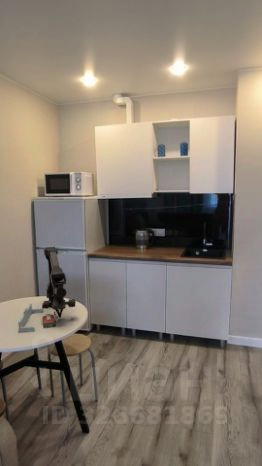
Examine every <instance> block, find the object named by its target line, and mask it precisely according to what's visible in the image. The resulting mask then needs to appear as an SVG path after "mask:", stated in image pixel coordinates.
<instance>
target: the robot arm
mask: <svg viewBox="0 0 262 466" xmlns="http://www.w3.org/2000/svg"><path fill="white" fill-rule="evenodd" d="M42 251H43V255H44V258H45V259H46V260H47V270H48V271H47V272H48V283H47V285H46V289H45V297H46V299H48V300H44V301H43V302H42V306H41V307H42V308H43V310H44V309H49V308H52V310H54V311H55V312H56V315H57V316H58V318H59V319H61V318H62V314H63V310H65V309H66V307H67V306H68V308H76V303H77V301H76V299H75V298H73V299H68V301H66V300H65V297H66V296H67V292H68V291H67V290H66V288H65V286H64V285H66V284H67V277H66V276H67V275H66V274H65V272H64V271H63V268H62V267H60V264H59V260H58V259H59V258H58V254H59V250H58V247H57V248H56V247H55V246H48V247H47V246H46V247H44V249H43V250H42Z"/></svg>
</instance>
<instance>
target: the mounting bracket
mask: <svg viewBox="0 0 262 466" xmlns="http://www.w3.org/2000/svg"><path fill="white" fill-rule="evenodd" d="M32 314H44V309H43V308H33V304H32V303H28V306H27V307H26V308H25V309H24V311H23V314H22V315H21V316H20V319H18V320H19V321H17V323H18V333H29V332H30V333H31V332H35V326H34V325H32V326H30V325H29V326H26V325H27V323H28V322H29V319H30V318H31V316H32Z"/></svg>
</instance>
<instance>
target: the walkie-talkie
mask: <svg viewBox="0 0 262 466" xmlns="http://www.w3.org/2000/svg"><path fill="white" fill-rule="evenodd" d="M58 318H59V316H58V314H57V312H56V310H54V311H53V314H51V313H47V314H45V315H43V316H42V319H41V320H42V325H43V329H48V328H54V327H56V326H57V322H59V319H58Z"/></svg>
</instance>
